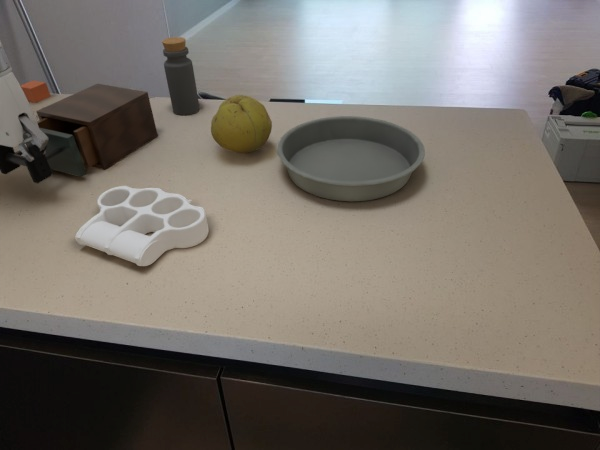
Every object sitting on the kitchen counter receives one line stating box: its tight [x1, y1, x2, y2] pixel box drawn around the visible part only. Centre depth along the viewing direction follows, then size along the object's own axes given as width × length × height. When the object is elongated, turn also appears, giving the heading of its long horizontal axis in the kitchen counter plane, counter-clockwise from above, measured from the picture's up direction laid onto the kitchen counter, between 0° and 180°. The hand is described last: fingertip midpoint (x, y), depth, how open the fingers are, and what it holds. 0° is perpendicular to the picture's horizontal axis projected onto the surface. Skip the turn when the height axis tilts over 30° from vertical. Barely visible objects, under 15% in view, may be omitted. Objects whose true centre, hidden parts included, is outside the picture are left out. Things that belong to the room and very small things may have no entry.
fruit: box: [210, 94, 273, 154], centre depth 83 cm, size 11×12×10 cm
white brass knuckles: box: [74, 185, 210, 267], centre depth 65 cm, size 3×18×15 cm
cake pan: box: [276, 115, 426, 202], centre depth 78 cm, size 25×25×4 cm
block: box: [20, 79, 51, 104], centre depth 106 cm, size 4×4×4 cm
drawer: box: [4, 117, 99, 178], centre depth 80 cm, size 19×11×7 cm, turn 155°
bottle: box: [161, 36, 200, 116], centre depth 97 cm, size 6×6×15 cm
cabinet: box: [36, 83, 159, 171], centre depth 85 cm, size 15×13×9 cm
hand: (27, 173), depth 74 cm, fingers closed on drawer, 6 cm apart
